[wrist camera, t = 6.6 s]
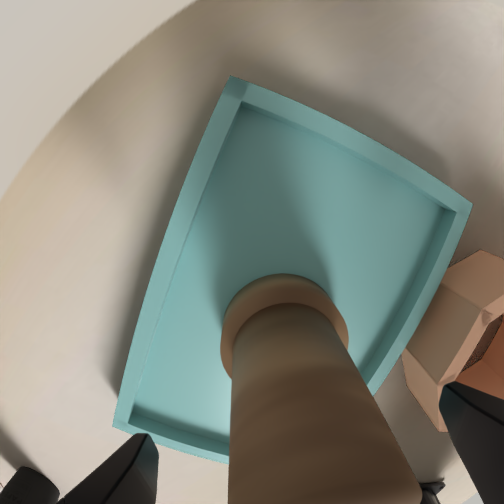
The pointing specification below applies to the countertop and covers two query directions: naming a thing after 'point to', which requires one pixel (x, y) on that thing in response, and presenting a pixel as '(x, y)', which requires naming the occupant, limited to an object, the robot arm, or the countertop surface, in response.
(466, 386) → the robot arm
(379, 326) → the tray
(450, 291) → the mortar
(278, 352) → the pestle
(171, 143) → the countertop surface
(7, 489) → the drinking cup
